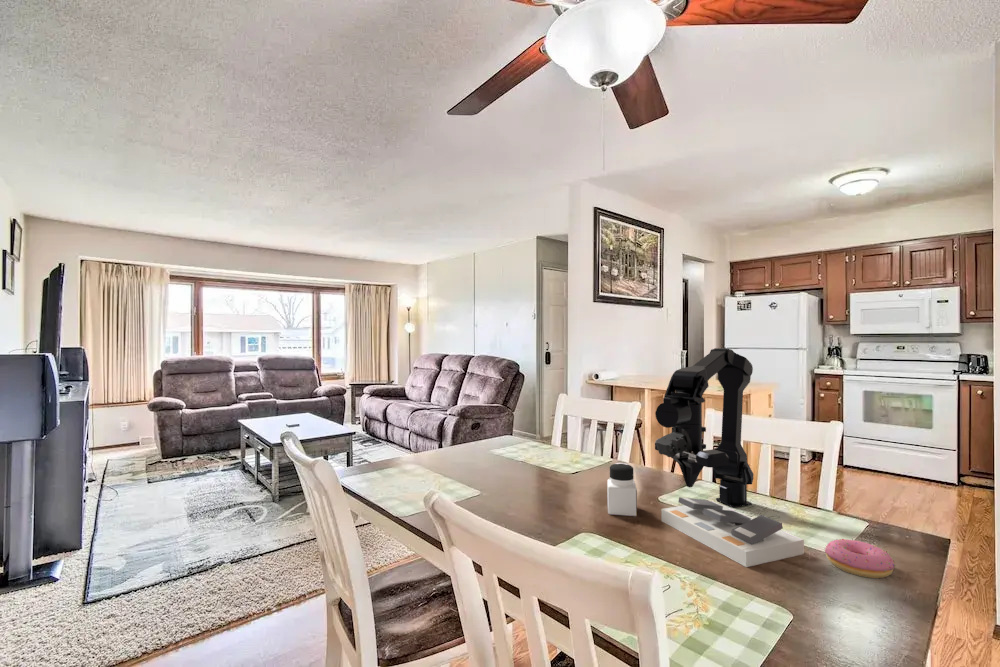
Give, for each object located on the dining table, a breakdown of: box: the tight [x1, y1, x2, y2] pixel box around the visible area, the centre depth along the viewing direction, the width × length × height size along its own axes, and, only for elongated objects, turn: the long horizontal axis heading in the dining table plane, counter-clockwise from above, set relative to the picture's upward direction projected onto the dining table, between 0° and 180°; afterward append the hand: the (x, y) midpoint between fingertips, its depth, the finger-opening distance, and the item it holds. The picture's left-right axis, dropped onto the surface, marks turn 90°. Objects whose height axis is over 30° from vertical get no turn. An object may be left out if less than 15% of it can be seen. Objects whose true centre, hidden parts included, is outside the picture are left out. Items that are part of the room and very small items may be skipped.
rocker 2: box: [731, 514, 784, 545], centre depth 100 cm, size 9×5×1 cm, turn 110°
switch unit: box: [660, 500, 805, 568], centre depth 107 cm, size 16×25×4 cm, turn 20°
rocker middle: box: [703, 508, 752, 523], centre depth 107 cm, size 9×5×1 cm, turn 110°
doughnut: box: [824, 538, 896, 579], centre depth 93 cm, size 11×11×4 cm
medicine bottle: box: [606, 462, 638, 517], centre depth 123 cm, size 7×7×12 cm
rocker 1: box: [678, 496, 724, 510], centre depth 115 cm, size 9×5×1 cm, turn 110°
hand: (689, 486), depth 114 cm, fingers closed
